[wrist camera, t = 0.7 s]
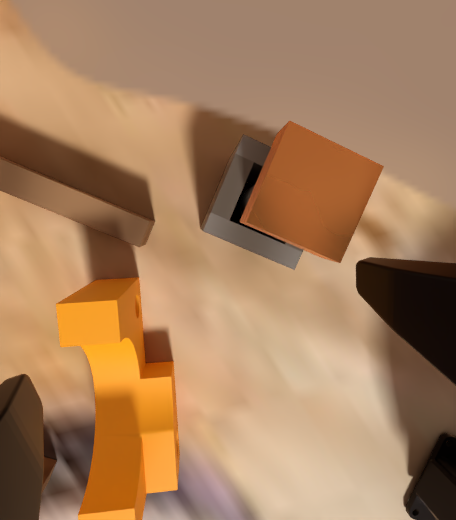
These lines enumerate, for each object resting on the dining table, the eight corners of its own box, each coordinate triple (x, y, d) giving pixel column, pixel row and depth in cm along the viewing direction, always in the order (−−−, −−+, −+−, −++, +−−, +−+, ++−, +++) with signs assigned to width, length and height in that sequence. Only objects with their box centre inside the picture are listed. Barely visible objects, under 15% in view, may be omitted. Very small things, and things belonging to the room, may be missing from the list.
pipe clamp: (179, 453, 23) (174, 540, 17) (113, 460, 23) (81, 552, 17) (168, 275, 22) (157, 297, 16) (96, 279, 22) (55, 304, 15)
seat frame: (297, 189, 22) (335, 177, 16) (156, 513, 23) (143, 612, 18) (-74, 19, 19) (-194, -72, 13) (-208, 403, 20) (-371, 478, 15)
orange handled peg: (299, 190, 18) (383, 166, 10) (276, 244, 18) (340, 263, 10) (246, 165, 18) (289, 120, 10) (222, 221, 18) (246, 222, 10)
